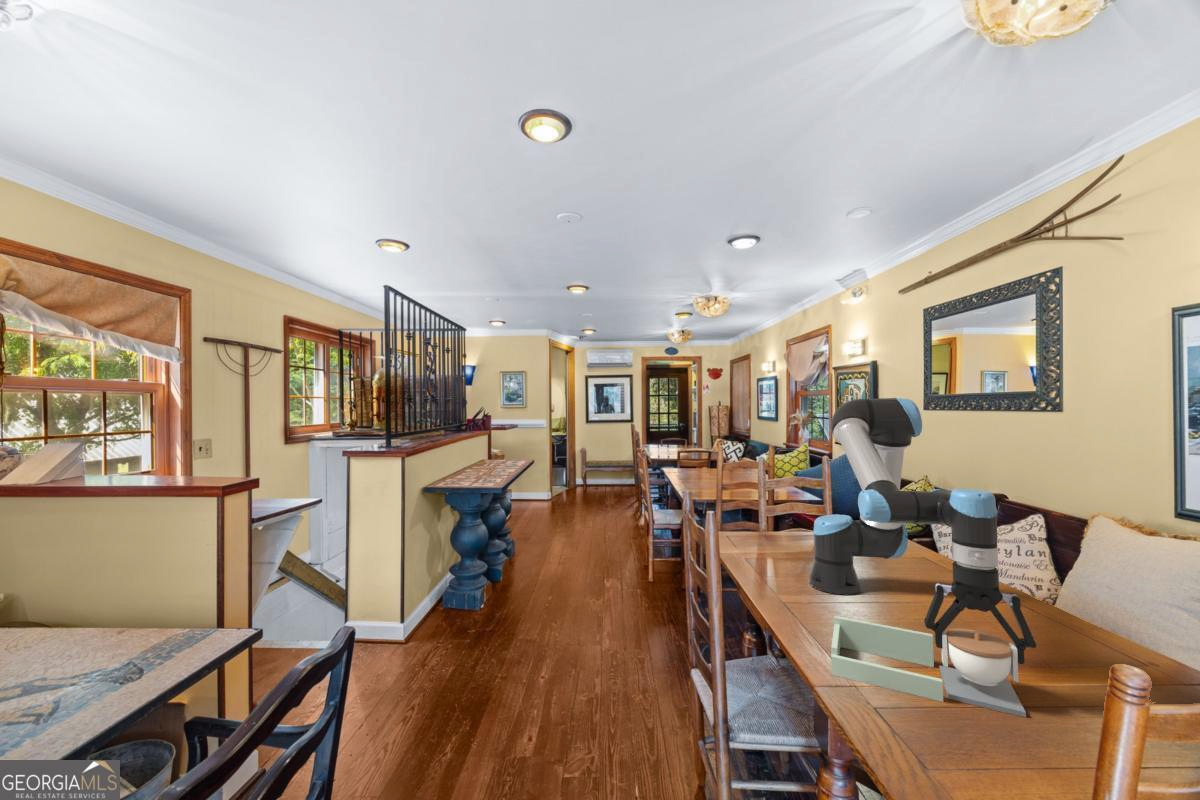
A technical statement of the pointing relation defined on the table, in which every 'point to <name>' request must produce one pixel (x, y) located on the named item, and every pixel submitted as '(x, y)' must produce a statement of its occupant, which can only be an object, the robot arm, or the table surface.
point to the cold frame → (888, 645)
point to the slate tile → (981, 693)
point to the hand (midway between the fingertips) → (978, 670)
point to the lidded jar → (979, 656)
